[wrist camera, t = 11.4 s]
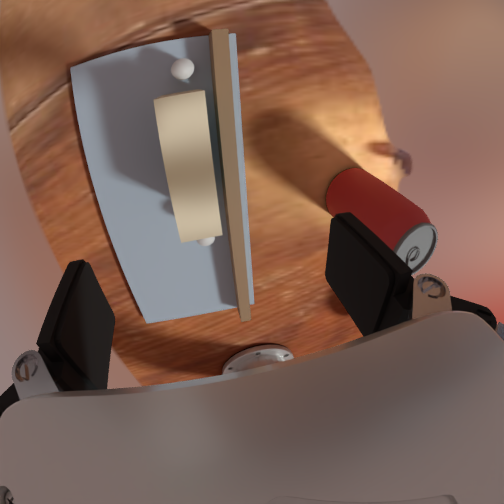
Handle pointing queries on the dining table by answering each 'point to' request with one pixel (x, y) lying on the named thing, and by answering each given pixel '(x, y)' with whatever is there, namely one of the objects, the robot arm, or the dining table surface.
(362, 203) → the beer can
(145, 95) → the ledge
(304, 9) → the dining table surface
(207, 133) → the beige tapered block
